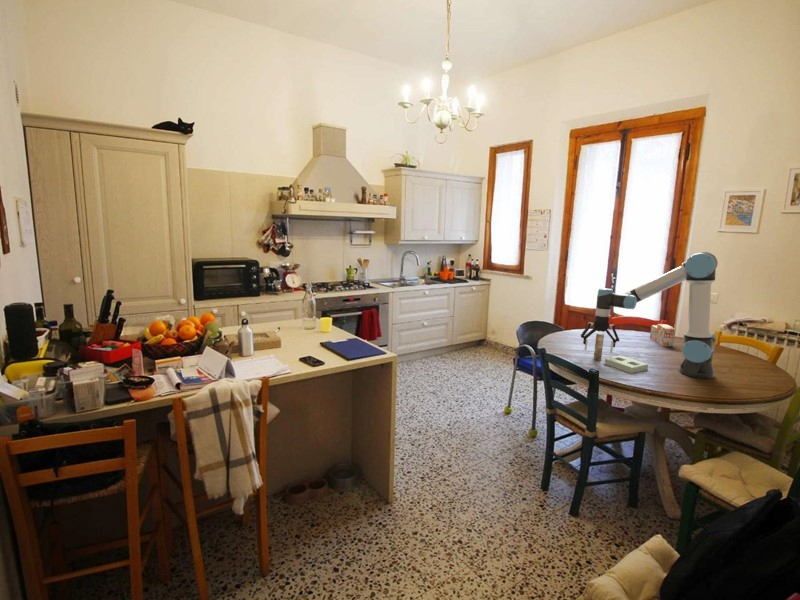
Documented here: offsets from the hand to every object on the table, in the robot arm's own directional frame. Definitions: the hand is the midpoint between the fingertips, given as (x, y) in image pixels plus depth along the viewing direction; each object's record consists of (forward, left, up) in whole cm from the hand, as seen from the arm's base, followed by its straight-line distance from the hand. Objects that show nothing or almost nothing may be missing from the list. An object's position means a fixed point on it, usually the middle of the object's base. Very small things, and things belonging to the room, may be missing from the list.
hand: (598, 351), depth 239 cm
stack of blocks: (+7, -74, -5) cm, 75 cm away
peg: (0, 0, -5) cm, 5 cm away
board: (-15, -4, -5) cm, 16 cm away
